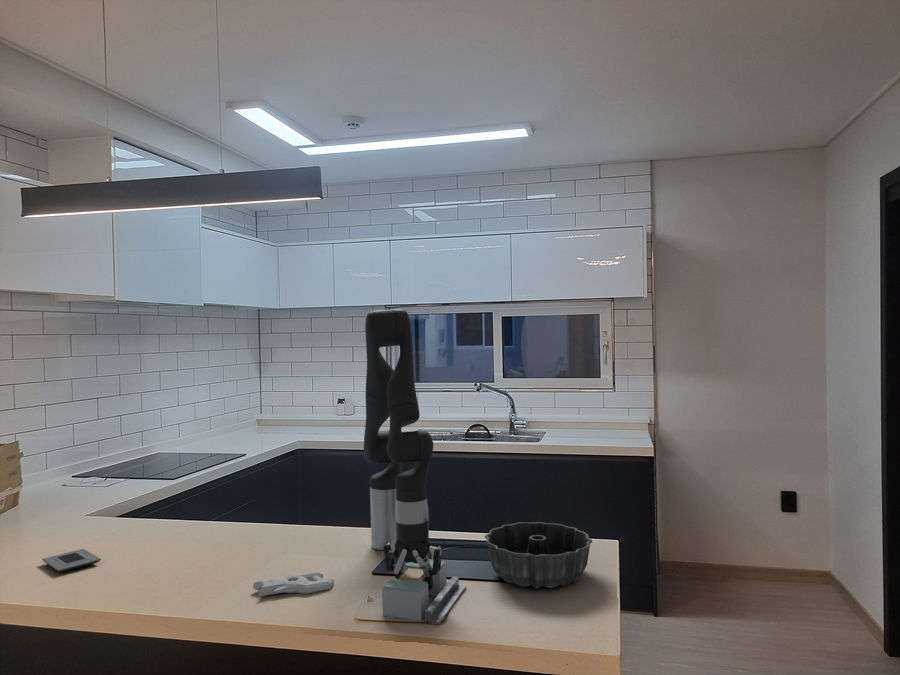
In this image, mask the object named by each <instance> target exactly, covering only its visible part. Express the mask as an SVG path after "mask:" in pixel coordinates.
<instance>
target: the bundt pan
mask: <svg viewBox="0 0 900 675" xmlns="http://www.w3.org/2000/svg"><path fill="white" fill-rule="evenodd" d="M484 539H485V540H486V541H485V542H486V545H487V549H488V556H489V559H490V564H491V567H492V569H493V571H494V572H495V574H497V576H499V577H500V578H502V579H503V580H504V581H505V582H506V583H508V584H511V585H512V584H516V585H517V586H519V587H523V588H524V587H525V588H526V587H529V586H532V587H533V588H534V589H535V590H538V589H540V588H541V587H543V588H547V589H555V588H556V587H558V586H559V587H566V586H568V585H570V584H571V583H572V582H575V581H576V580H578V579H579V578H580V577H581V576H582V575H583V573H584V571H585V569H586V568H587V566H588V560H589V554H590V547H591V543H593V539H592V538H590V536H589V534H588V533H586V532H585V531H582V530H579V529H578V528H576V527H573V526H568V525H565V524H562V523H561V524H560V523H554V522H547V523H546V522H542V521H536V522H525V521H524V522H515V523H511V524H502V526H500V527H494V528H492V529H490V530H489V531H488V533H487V534H485V535H484Z"/></svg>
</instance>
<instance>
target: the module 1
mask: <svg viewBox="0 0 900 675" xmlns="http://www.w3.org/2000/svg"><path fill="white" fill-rule="evenodd" d="M424 577H425V575H424V572H423V570H421V569H411V568H408V569H407V570H406V571H405V572H404V571H403V574H402V575H401V576H400V578H399V579H402V580H412V581H422V582H424ZM428 595H429V592H428ZM429 596H430V595H429Z"/></svg>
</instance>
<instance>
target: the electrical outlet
mask: <svg viewBox="0 0 900 675" xmlns="http://www.w3.org/2000/svg"><path fill="white" fill-rule="evenodd" d="M41 560H42V561H43V562H44V563H45V564H47V565H48V566H50V567H51V568H52V569H54V570H56V571H57V572H58V573H64V572H68V571H71V570H76V569H79V568H83V567H87V566H89V565H90V566H91V565H93V564H97V563H99V562H100V561H101V560H102V559H101V558H100V557H98V556H97V555H95V554H93V553H91V552H90V551H89V550H87V549H85V548H80V549H76V550H72V551H68V552H64V553H60V554H56V555H52V556H48V557H44V558H41Z"/></svg>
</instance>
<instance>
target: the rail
mask: <svg viewBox="0 0 900 675" xmlns="http://www.w3.org/2000/svg"><path fill="white" fill-rule="evenodd" d="M459 579H460V578H459V577H458V576H452V577H451V578H450V579H449V580H448V582H447V584H446V586H445V587H444V588H443V589H442V591H441V592H440V593H439V594H438V596H435V598H434V599H433V601H432V602H431V603H429V607H428V608H427V609H426V611H425V616H424V623H425V624H429V625H431V624H432V625H441V623H442V621H444V619H445V618H446V617H447V615H448V614H449V613H450V611H451V610H452V609H453V607H454V605H455V604H456V603H457V602H458V599H459V598H460V597H461V596H462V594H463V593H464V592H465V590H466V588H467V586H466V585H464V584H463V585H461V584H460V582H459V581H460V580H459Z"/></svg>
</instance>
